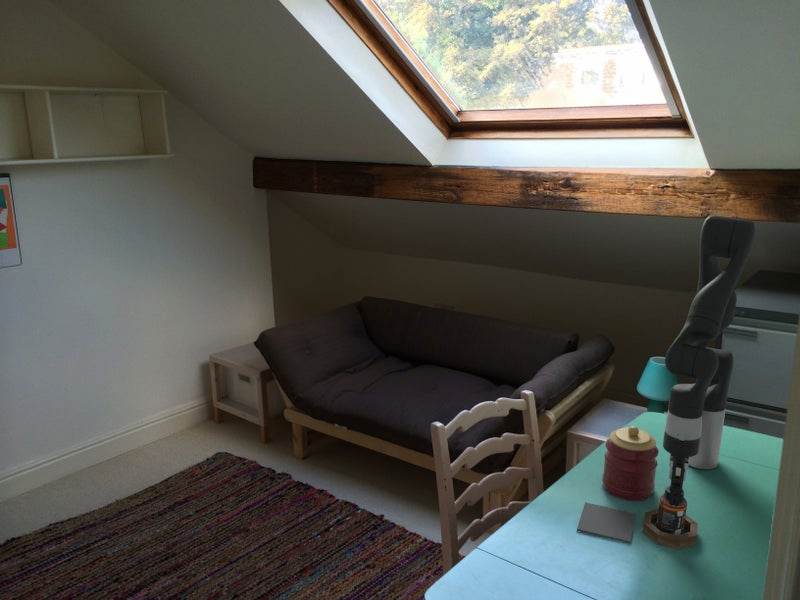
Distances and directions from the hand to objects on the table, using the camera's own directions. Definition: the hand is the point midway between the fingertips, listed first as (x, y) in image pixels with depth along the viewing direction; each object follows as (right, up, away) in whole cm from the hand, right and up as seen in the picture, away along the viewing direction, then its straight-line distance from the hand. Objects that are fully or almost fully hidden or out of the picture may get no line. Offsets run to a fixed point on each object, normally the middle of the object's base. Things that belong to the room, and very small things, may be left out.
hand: (674, 495), depth 159 cm
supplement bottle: (0, -10, +3) cm, 10 cm away
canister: (-4, -4, +21) cm, 22 cm away
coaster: (-14, -9, +7) cm, 17 cm away
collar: (0, -10, +3) cm, 10 cm away
